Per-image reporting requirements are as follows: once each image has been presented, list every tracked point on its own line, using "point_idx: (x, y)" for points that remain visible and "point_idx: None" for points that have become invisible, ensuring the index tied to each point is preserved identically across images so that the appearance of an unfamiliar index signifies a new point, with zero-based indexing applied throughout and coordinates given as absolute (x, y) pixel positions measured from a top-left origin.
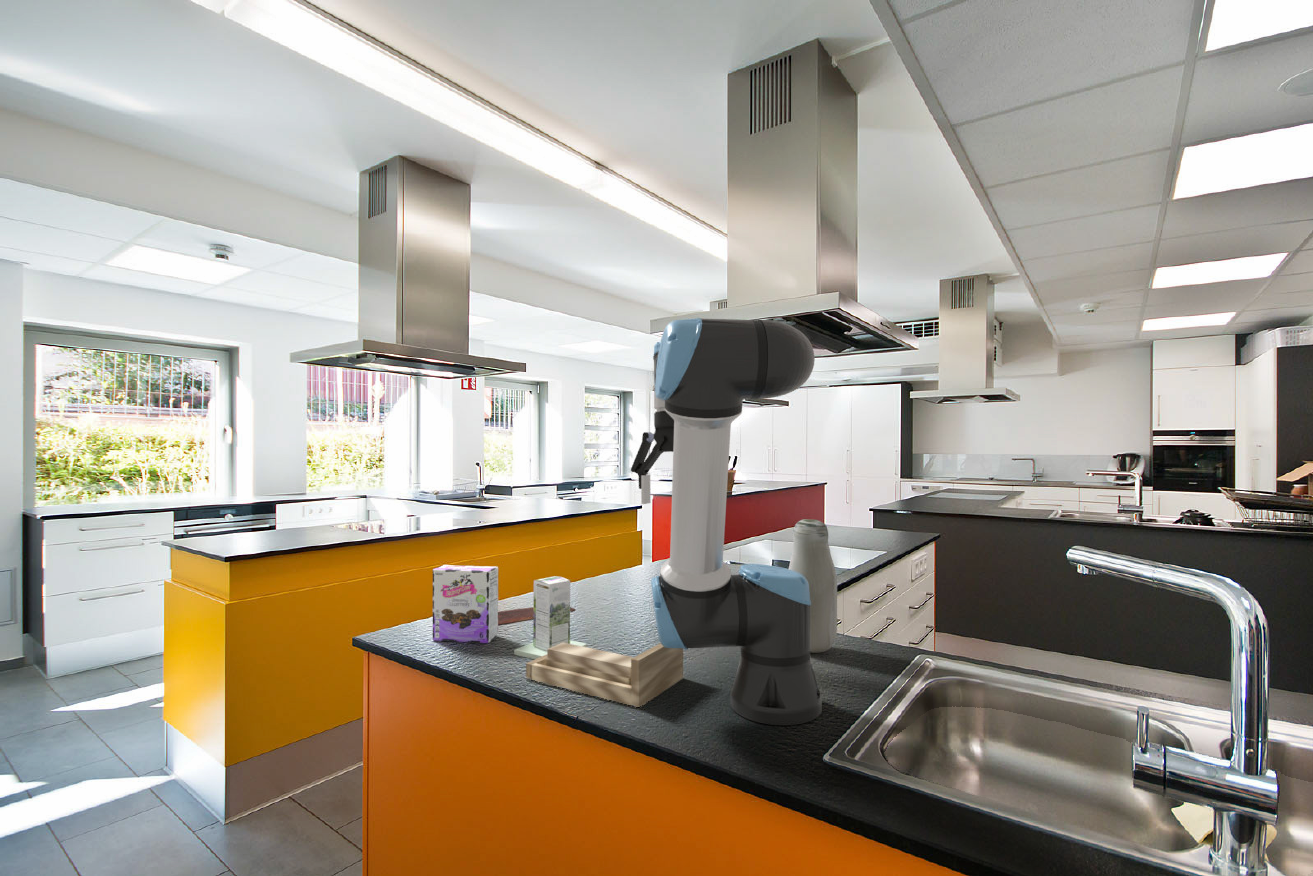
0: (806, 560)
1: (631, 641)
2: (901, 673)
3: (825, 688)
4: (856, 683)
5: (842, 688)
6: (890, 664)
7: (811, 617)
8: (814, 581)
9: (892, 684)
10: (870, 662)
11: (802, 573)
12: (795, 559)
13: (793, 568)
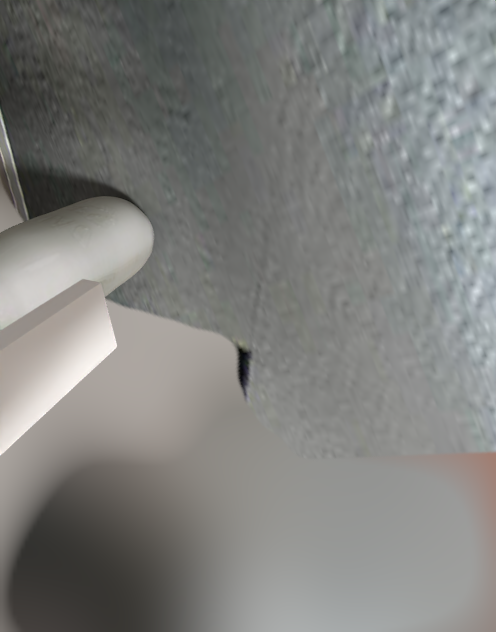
0: None
1: (486, 114)
2: (17, 180)
3: (43, 52)
4: (29, 105)
5: (30, 69)
6: (41, 210)
7: (70, 205)
8: (7, 229)
9: (3, 128)
10: (60, 207)
11: (14, 236)
12: (10, 263)
13: (31, 253)
